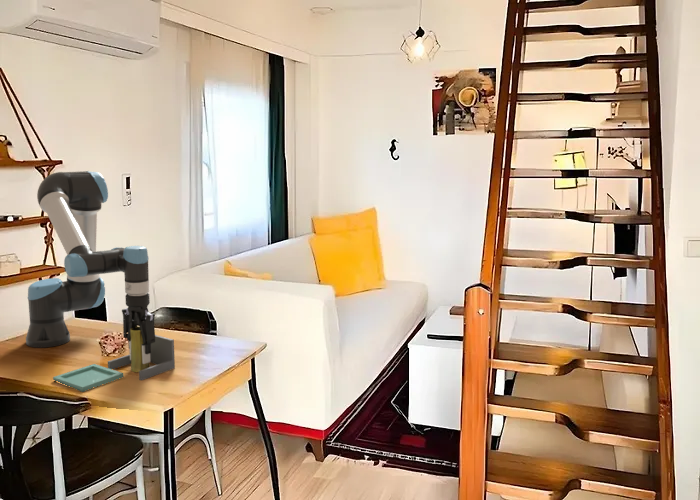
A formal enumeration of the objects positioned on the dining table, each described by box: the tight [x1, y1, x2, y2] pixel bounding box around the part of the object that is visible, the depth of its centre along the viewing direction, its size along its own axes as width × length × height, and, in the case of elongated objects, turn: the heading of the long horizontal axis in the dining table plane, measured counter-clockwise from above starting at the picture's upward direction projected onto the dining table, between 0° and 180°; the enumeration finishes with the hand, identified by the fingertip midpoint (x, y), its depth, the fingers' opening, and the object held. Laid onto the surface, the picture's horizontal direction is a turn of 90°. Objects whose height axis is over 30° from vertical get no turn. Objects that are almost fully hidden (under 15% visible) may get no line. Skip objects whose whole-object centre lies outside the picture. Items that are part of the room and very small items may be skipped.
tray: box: [52, 363, 124, 393], centre depth 209 cm, size 15×15×2 cm
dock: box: [107, 334, 176, 381], centre depth 219 cm, size 17×14×10 cm
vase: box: [130, 325, 151, 373], centre depth 218 cm, size 6×6×14 cm
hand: (140, 360), depth 219 cm, fingers closed on vase, 6 cm apart
